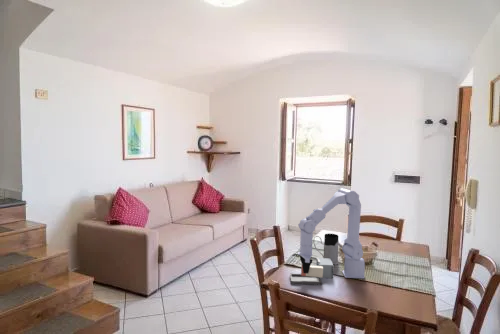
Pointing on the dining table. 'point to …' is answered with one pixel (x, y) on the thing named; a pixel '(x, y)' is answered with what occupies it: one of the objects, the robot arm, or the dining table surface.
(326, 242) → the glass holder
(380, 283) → the dining table surface
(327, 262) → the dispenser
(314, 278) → the tray
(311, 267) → the pink-topped cream pillar
